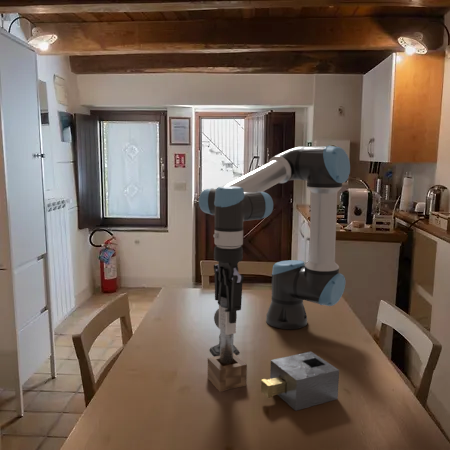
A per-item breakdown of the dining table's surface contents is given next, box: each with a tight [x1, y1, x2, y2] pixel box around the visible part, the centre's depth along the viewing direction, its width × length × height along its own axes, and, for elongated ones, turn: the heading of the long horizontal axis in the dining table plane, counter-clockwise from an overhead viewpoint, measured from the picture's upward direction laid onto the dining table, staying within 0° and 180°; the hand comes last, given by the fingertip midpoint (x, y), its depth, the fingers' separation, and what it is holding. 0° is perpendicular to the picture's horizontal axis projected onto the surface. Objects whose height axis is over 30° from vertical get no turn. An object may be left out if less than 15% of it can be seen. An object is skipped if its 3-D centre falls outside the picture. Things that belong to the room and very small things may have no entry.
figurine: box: [209, 308, 240, 357], centre depth 144 cm, size 9×10×15 cm
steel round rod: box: [219, 295, 235, 364], centre depth 124 cm, size 4×4×18 cm
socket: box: [269, 350, 340, 412], centre depth 120 cm, size 12×13×8 cm
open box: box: [207, 353, 248, 392], centre depth 126 cm, size 8×8×6 cm
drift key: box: [260, 377, 287, 399], centre depth 117 cm, size 3×9×3 cm, turn 116°
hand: (227, 330), depth 124 cm, fingers closed on steel round rod, 3 cm apart
